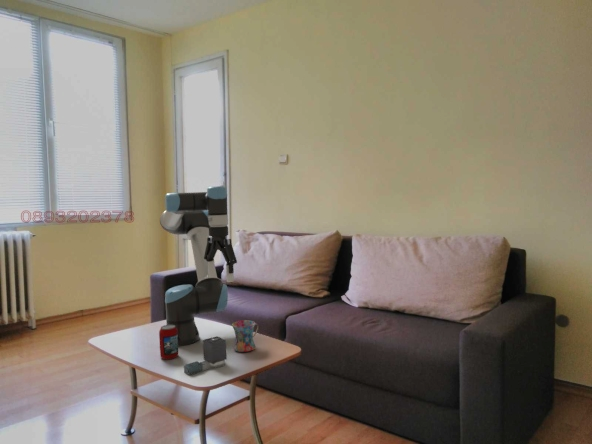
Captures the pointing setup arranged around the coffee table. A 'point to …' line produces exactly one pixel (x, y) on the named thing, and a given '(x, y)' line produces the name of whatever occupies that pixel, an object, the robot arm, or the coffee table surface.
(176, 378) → the coffee table surface
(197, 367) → the faucet
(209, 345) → the cube with silver knob
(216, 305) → the robot arm
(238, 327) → the mug
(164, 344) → the beverage can
